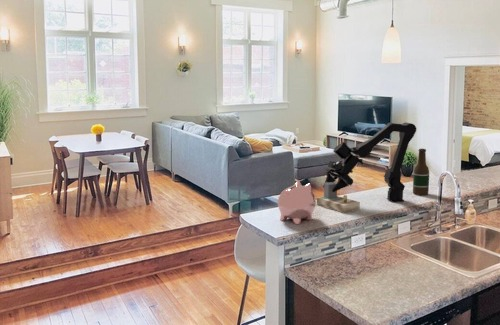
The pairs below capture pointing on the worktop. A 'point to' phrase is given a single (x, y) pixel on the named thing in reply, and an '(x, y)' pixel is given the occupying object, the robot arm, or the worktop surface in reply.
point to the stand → (338, 204)
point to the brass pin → (345, 198)
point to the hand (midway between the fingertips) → (328, 189)
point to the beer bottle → (421, 175)
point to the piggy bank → (297, 203)
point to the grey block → (329, 190)
